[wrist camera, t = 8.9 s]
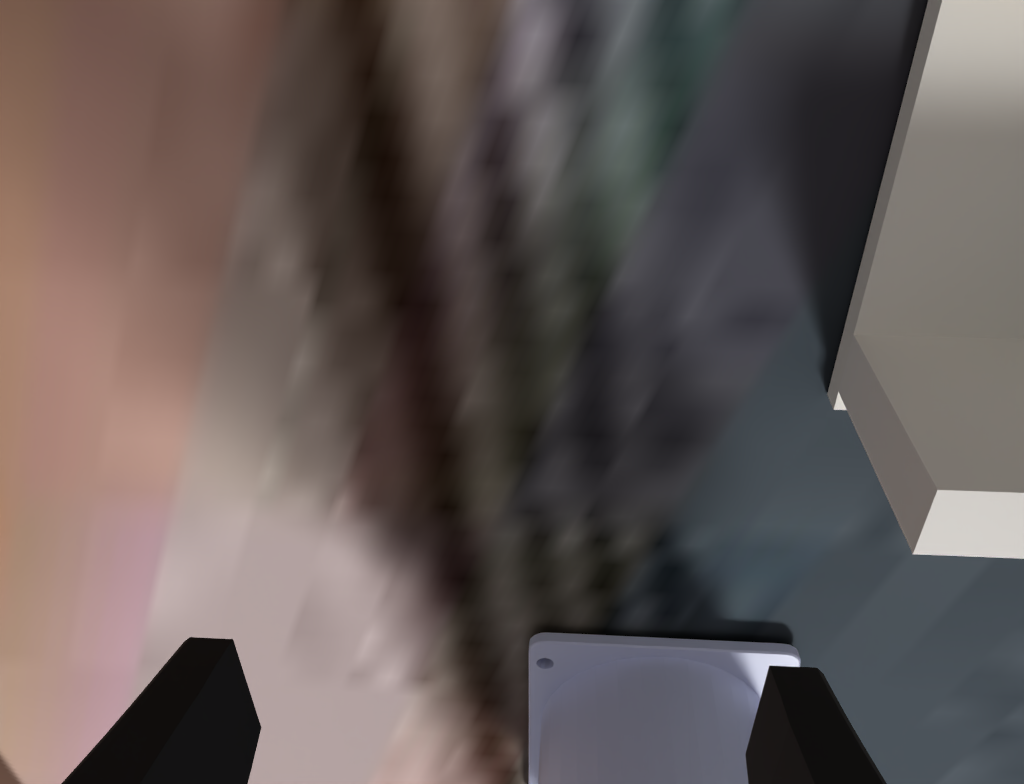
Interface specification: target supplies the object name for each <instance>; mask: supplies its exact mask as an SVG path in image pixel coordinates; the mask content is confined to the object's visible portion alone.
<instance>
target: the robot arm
mask: <svg viewBox="0 0 1024 784" xmlns="http://www.w3.org/2000/svg"><path fill="white" fill-rule="evenodd" d="M260 730H261V726H260V722H259V719H258V716H257V713H256V710H255V707H254V704H253V701H252V697H251V694H250V691H249V688H248V685H247V682H246V679H245V676H244V672H243V669H242V666H241V663H240V660H239V657H238V654H237V651H236V647H235V644H234V641H233V639H213V638H193V637H190V638H188V639H187V640H186V641H185V642H184V643H183V644H182V645H181V646H180V647H179V649H178V650H177V651H176V652H175V653H174V655H173V656H172V657H171V658H170V659H169V660H168V662H167V663H166V664H165V665H164V666H163V668H162V669H161V670H160V671H159V672H158V674H157V675H156V676H155V677H154V678H153V680H152V681H151V682H150V683H149V684H148V686H147V687H146V688H145V689H144V690H143V692H142V693H141V694H140V695H139V696H138V697H137V699H136V700H135V701H134V702H133V703H132V705H131V706H130V707H129V708H128V709H127V710H126V711H125V713H124V714H123V715H122V716H121V717H120V718H119V720H118V721H117V722H116V723H115V724H114V725H113V727H112V728H111V729H110V730H109V731H108V732H107V734H106V735H105V736H104V737H103V738H102V739H101V740H100V741H99V743H98V744H97V745H96V746H95V747H94V748H93V749H92V750H91V752H90V753H89V754H88V755H87V756H86V757H85V758H84V759H83V760H82V762H81V763H80V764H79V765H78V766H77V767H76V768H75V769H74V771H73V772H72V773H71V774H70V775H69V776H68V777H67V778H66V779H65V781H64V782H63V783H62V784H247V783H248V779H249V775H250V772H251V768H252V764H253V759H254V755H255V751H256V747H257V743H258V739H259V734H260ZM529 784H886V782H885V780H884V779H883V777H882V775H881V774H880V772H879V770H878V769H877V767H876V765H875V764H874V762H873V761H872V759H871V757H870V756H869V754H868V752H867V751H866V749H865V747H864V746H863V744H862V742H861V740H860V739H859V737H858V735H857V734H856V732H855V730H854V728H853V727H852V725H851V723H850V721H849V720H848V718H847V716H846V714H845V713H844V711H843V709H842V707H841V705H840V704H839V702H838V700H837V698H836V696H835V695H834V693H833V691H832V689H831V687H830V685H829V684H828V682H827V680H826V678H825V676H824V674H823V673H822V672H821V671H820V670H819V669H818V668H810V667H800V656H799V653H798V650H797V649H796V648H795V647H793V646H791V645H789V644H783V643H762V642H741V641H719V640H698V639H677V638H655V637H634V636H613V635H592V634H570V633H549V632H544V633H538V634H536V635H534V636H533V637H532V638H531V639H530V642H529Z"/></svg>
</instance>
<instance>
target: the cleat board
mask: <svg viewBox="0 0 1024 784" xmlns="http://www.w3.org/2000/svg"><path fill="white" fill-rule="evenodd" d="M827 396H828V398H829V400H830V402H831V405H832V407H833V409H834V410H847V412H848V414H849V416H850V418H851V420H852V422H853V425H854V427H855V429H856V431H857V433H858V436H859V438H860V440H861V442H862V444H863V446H864V449H865V451H866V453H867V455H868V457H869V459H870V462H871V464H872V466H873V468H874V470H875V473H876V475H877V477H878V479H879V481H880V483H881V486H882V488H883V490H884V492H885V494H886V497H887V499H888V501H889V503H890V505H891V507H892V510H893V512H894V514H895V516H896V518H897V520H898V523H899V525H900V527H901V529H902V531H903V534H904V536H905V538H906V540H907V542H908V544H909V547H910V549H911V551H912V553H913V554H922V555H947V556H972V557H997V558H1022V559H1024V0H928V3H927V7H926V11H925V15H924V19H923V23H922V27H921V30H920V34H919V38H918V42H917V46H916V50H915V54H914V58H913V62H912V66H911V69H910V73H909V77H908V81H907V85H906V89H905V93H904V97H903V101H902V105H901V108H900V112H899V116H898V120H897V124H896V128H895V132H894V136H893V140H892V144H891V147H890V151H889V155H888V159H887V163H886V167H885V171H884V175H883V179H882V183H881V186H880V190H879V194H878V198H877V202H876V206H875V210H874V214H873V218H872V222H871V225H870V229H869V233H868V237H867V241H866V245H865V249H864V253H863V257H862V261H861V264H860V268H859V272H858V276H857V280H856V284H855V288H854V292H853V296H852V300H851V303H850V307H849V311H848V315H847V319H846V323H845V327H844V331H843V335H842V339H841V342H840V346H839V350H838V354H837V358H836V362H835V366H834V370H833V374H832V378H831V381H830V385H829V389H828V393H827Z"/></svg>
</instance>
